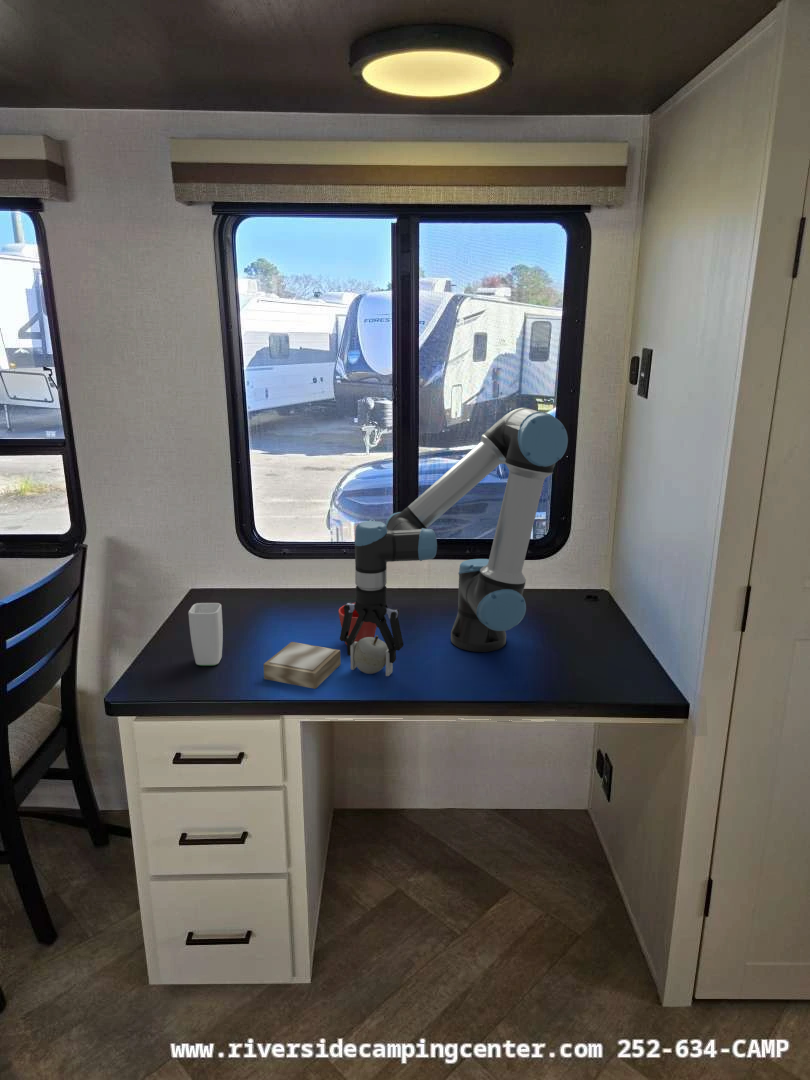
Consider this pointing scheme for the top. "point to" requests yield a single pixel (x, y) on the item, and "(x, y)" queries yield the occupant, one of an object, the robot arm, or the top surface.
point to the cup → (206, 633)
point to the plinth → (302, 665)
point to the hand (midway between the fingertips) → (371, 670)
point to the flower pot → (365, 630)
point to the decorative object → (370, 654)
